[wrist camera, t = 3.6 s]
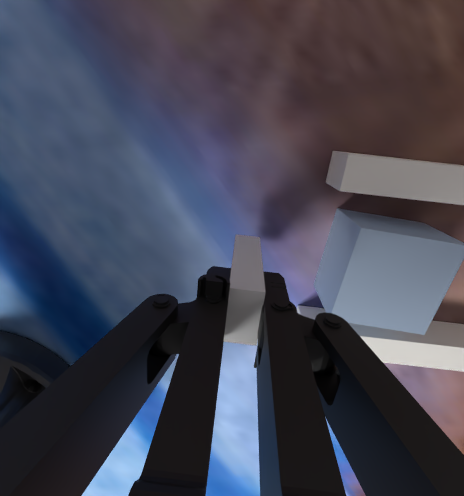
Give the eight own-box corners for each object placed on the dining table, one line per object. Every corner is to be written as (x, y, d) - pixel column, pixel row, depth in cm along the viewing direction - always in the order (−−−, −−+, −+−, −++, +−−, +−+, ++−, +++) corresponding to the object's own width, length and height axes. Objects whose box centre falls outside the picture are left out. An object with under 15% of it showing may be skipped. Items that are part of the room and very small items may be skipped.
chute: (293, 326, 23) (299, 352, 20) (332, 150, 18) (348, 153, 15) (490, 348, 23) (524, 378, 20) (586, 179, 18) (649, 187, 15)
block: (313, 283, 22) (329, 319, 17) (336, 207, 19) (361, 227, 15) (390, 296, 22) (424, 335, 18) (422, 222, 19) (470, 246, 15)
